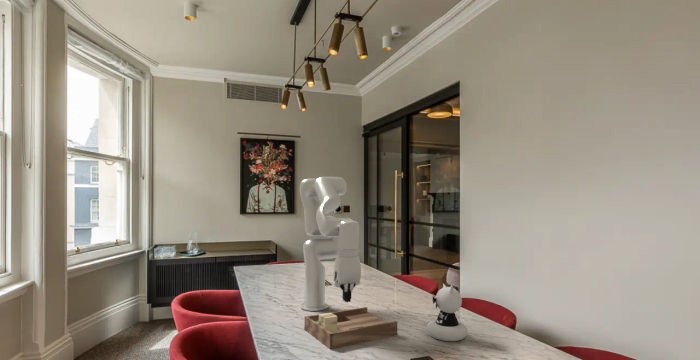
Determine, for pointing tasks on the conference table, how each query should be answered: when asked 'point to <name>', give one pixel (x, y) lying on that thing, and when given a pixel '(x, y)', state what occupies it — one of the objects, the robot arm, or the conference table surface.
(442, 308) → the decorative figurine
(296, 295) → the conference table surface
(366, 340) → the box
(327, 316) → the maple block
